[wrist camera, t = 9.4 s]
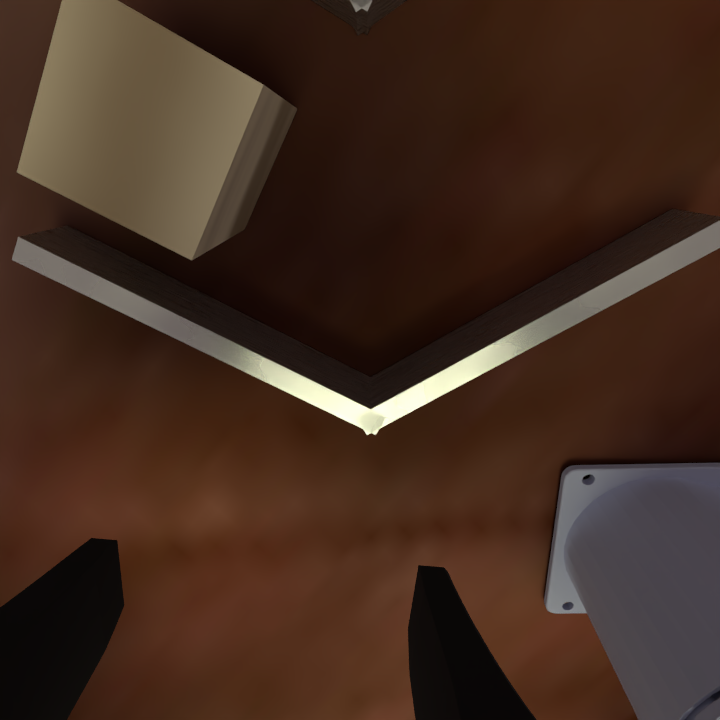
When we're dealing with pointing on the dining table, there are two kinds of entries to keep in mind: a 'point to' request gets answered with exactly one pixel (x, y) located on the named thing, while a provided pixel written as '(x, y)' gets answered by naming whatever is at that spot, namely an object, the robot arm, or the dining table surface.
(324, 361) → the rail track
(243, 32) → the dining table surface
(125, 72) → the maple block
